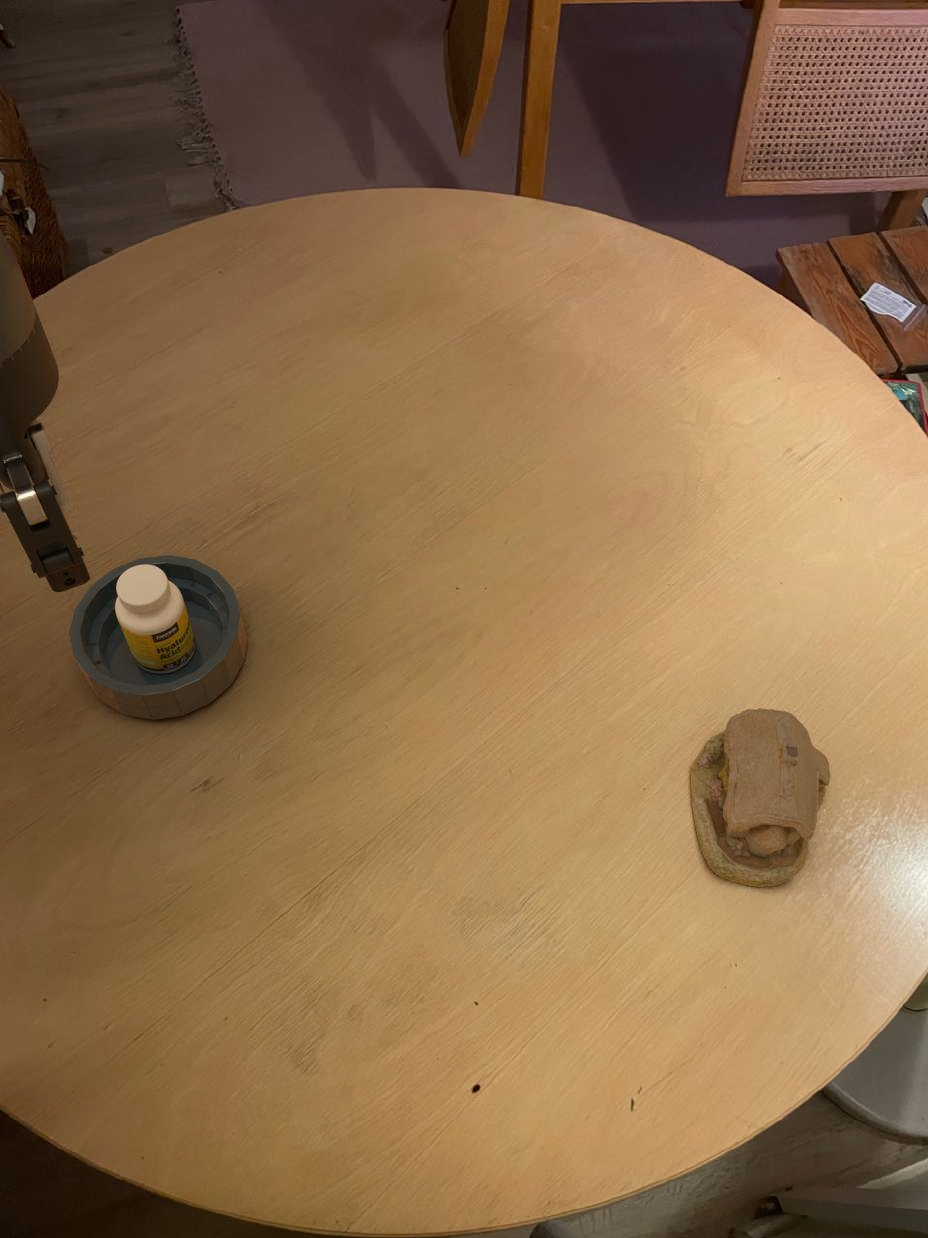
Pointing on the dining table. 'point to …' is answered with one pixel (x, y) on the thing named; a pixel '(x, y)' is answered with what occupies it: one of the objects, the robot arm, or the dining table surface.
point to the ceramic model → (758, 797)
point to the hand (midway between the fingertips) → (51, 531)
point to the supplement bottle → (154, 620)
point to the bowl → (169, 693)
